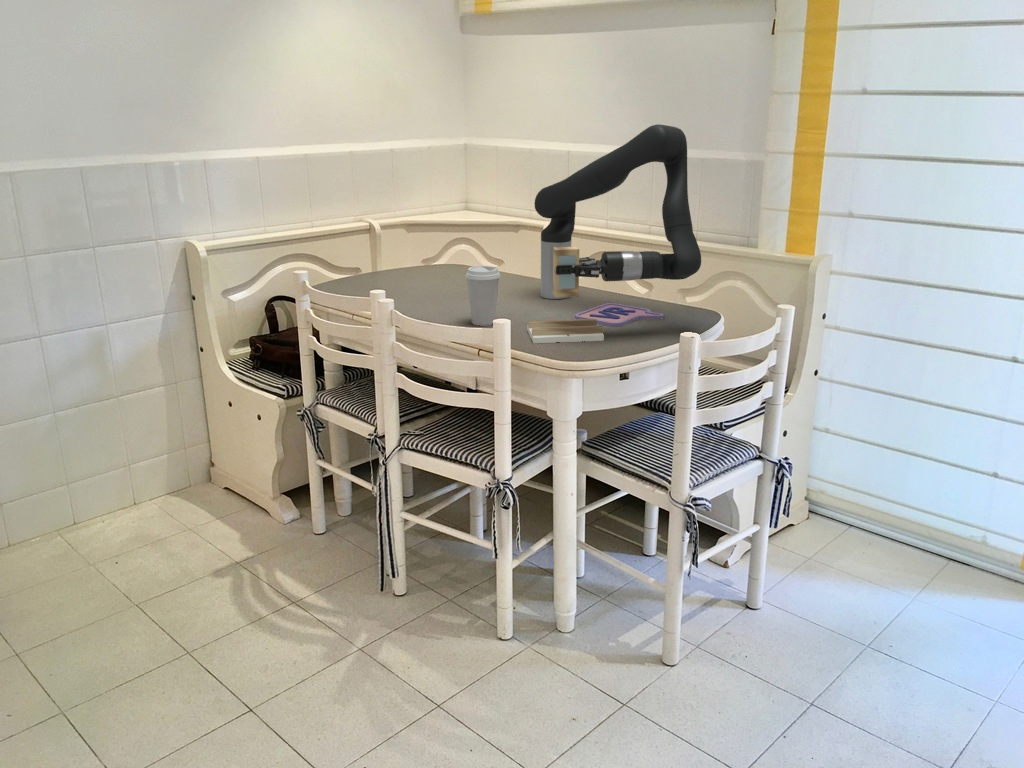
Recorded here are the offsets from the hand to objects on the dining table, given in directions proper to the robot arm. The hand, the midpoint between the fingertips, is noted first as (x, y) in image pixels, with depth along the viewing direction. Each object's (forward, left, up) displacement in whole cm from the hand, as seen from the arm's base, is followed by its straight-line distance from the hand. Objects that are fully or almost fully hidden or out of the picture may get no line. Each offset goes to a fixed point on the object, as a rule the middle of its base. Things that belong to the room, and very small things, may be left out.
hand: (555, 268), depth 208 cm
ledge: (0, +3, -18) cm, 18 cm away
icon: (-12, +24, -18) cm, 32 cm away
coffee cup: (-18, -14, -18) cm, 29 cm away
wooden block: (0, +3, -7) cm, 8 cm away
